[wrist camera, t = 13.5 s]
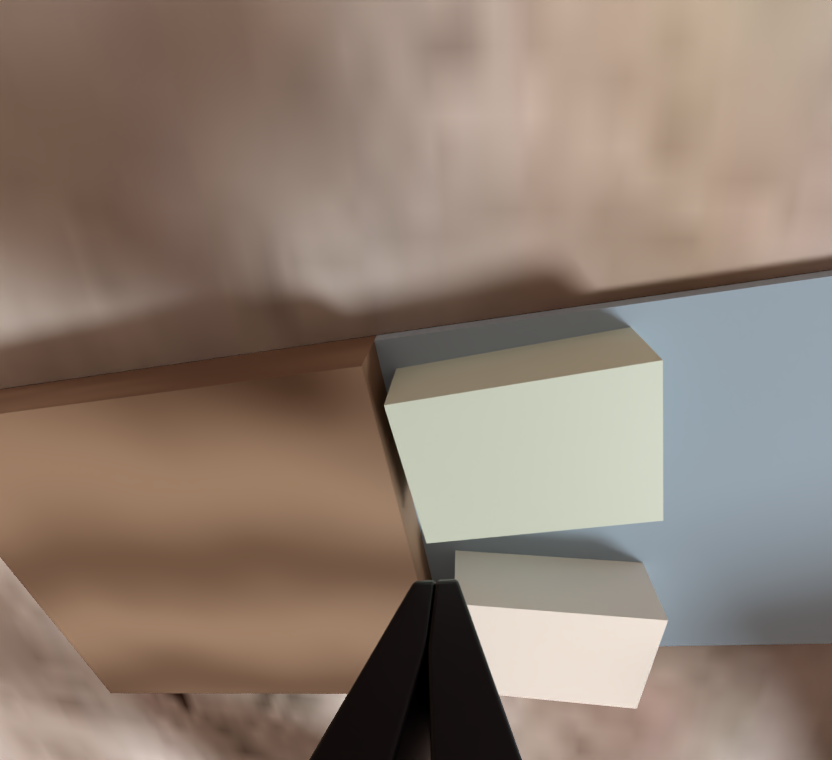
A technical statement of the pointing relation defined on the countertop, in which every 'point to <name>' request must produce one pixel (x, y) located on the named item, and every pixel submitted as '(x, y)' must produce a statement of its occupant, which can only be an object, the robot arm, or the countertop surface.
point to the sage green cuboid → (533, 437)
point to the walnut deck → (213, 519)
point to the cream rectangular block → (563, 625)
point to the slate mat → (702, 454)
